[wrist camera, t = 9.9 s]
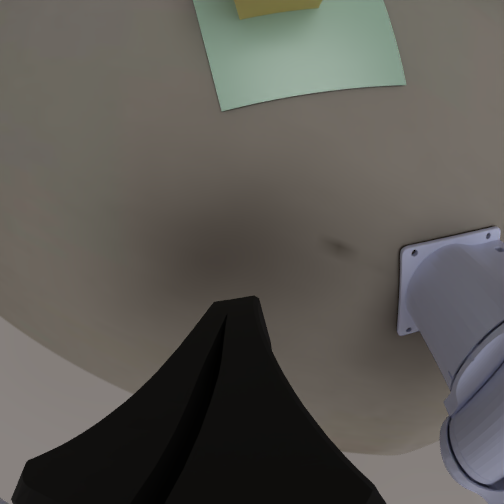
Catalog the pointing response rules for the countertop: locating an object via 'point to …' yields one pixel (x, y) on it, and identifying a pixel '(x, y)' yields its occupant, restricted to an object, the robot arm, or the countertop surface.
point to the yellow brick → (272, 6)
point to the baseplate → (298, 50)
